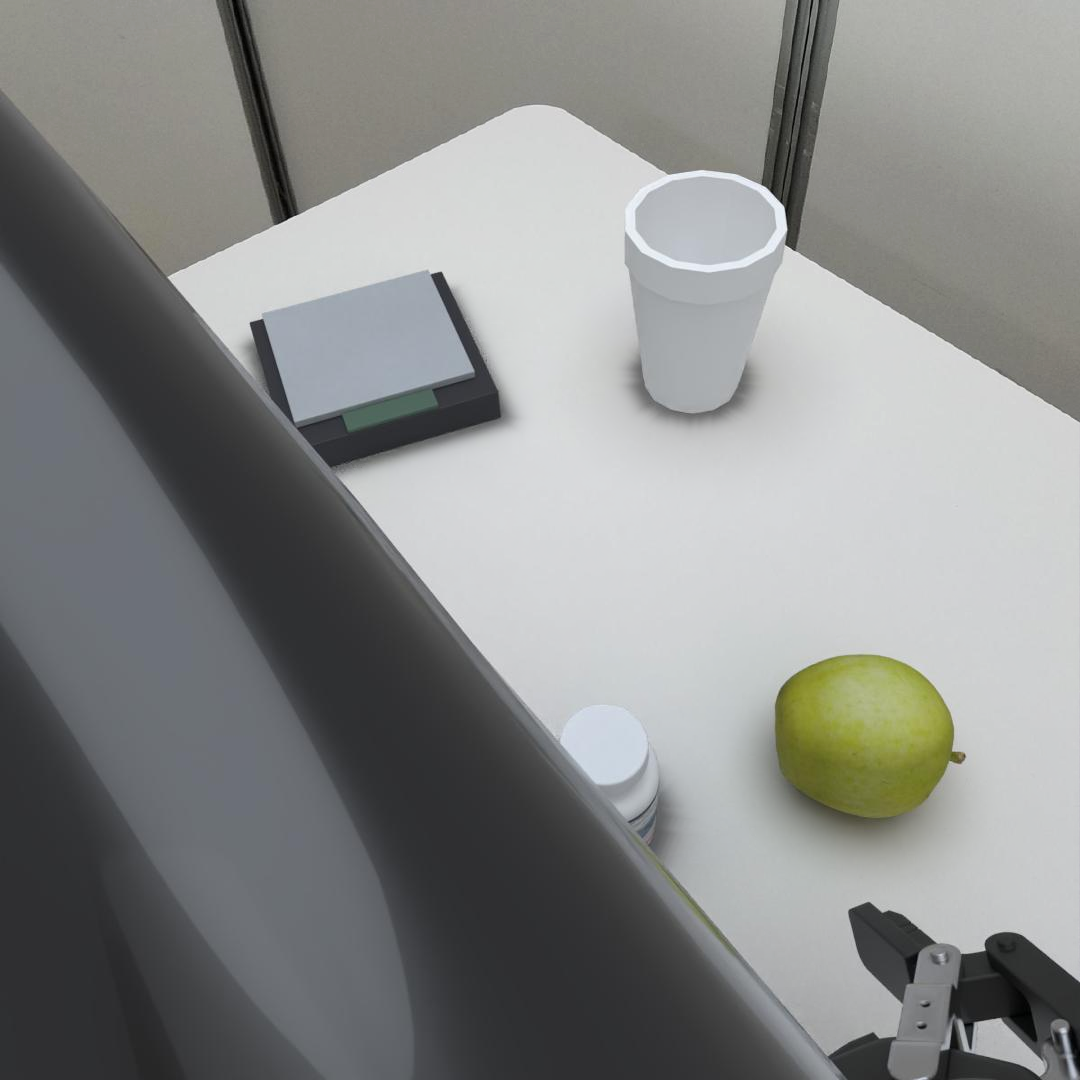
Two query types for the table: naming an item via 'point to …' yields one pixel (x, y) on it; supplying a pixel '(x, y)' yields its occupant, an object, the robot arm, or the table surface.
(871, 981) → the table surface
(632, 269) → the foam cup
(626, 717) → the pill bottle
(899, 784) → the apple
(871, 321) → the table surface
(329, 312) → the scale
